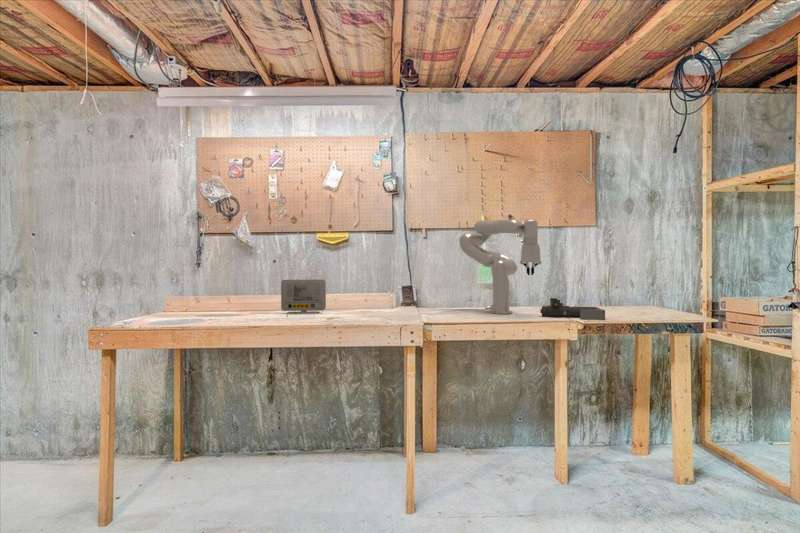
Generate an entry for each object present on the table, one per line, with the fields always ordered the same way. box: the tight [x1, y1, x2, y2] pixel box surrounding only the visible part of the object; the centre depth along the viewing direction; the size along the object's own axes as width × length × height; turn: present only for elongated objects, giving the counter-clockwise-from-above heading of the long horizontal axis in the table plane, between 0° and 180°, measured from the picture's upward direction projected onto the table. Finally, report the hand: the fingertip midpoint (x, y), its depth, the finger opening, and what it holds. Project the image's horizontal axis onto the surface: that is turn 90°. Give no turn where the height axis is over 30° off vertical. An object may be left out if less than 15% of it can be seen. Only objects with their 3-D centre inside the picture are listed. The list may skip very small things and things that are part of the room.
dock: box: [573, 305, 606, 321], centre depth 226 cm, size 12×17×5 cm
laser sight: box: [539, 297, 585, 318], centre depth 229 cm, size 10×22×10 cm, turn 78°
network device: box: [280, 279, 327, 315], centre depth 246 cm, size 26×9×20 cm, turn 94°
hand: (530, 274), depth 232 cm, fingers closed
